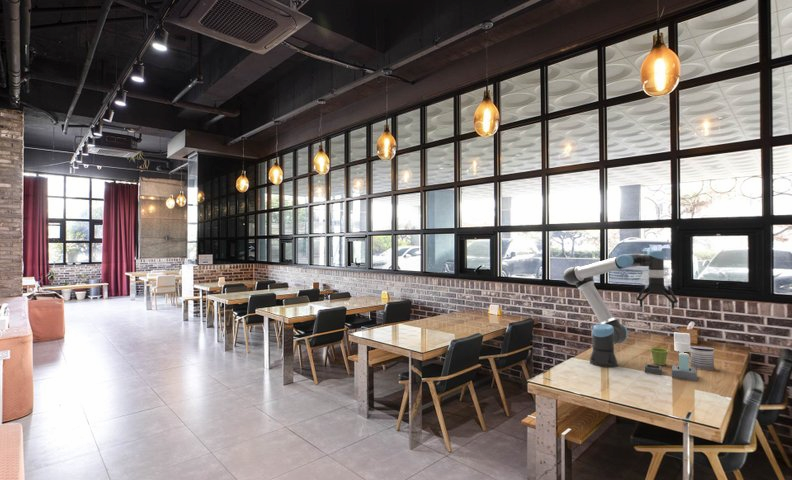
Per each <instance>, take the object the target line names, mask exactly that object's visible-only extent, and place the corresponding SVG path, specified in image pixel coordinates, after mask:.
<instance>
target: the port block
mask: <svg viewBox="0 0 792 480" xmlns="http://www.w3.org/2000/svg"><path fill="white" fill-rule="evenodd" d="M697 369H698V368H694V367H691V366H689V371H686V370H679V365H672V368H671V376H672V377H671V378H674V379H680V380H687V381H693V382H698V373H697Z"/></svg>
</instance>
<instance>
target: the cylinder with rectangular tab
mask: <svg viewBox="0 0 792 480" xmlns="http://www.w3.org/2000/svg"><path fill="white" fill-rule="evenodd" d="M673 343H674V344H673V345H674V346H673V349H674V351H675V352H678V351H679V352H678V353H680V352H682V353H684V352H689V353H691V351H690V348H691V347H690V346H691V333H687V332H676V331H675V332H673Z"/></svg>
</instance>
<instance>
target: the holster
mask: <svg viewBox="0 0 792 480" xmlns="http://www.w3.org/2000/svg"><path fill="white" fill-rule="evenodd" d="M662 366H663V365H657V364H650V363H649V364H647V363H646V364H645V365H644V373H647V374H653V375H659V376H661V375H662V369H663V368H662Z"/></svg>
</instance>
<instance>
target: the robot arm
mask: <svg viewBox="0 0 792 480" xmlns="http://www.w3.org/2000/svg"><path fill="white" fill-rule="evenodd" d="M664 260H665V258H664V251H662V250H648V252H647V253H627V254H626V253H624V254H620V255H618V256H615V257H612V258H608V259H604V260H601V261H597V262H594V263H591V264H587V265H583V266H579V265H578V266H573V267H571V266H570V267H568V268H567V269H565V270H564V272H563V279H564V281H565V282H566V283H567V284H569V285H573V286H576V288H577V290H579V291H581V292H582V294H583V296H584V298H585V299H586V300H587V302H588V304H589V307H591V310H592V312H593V313H594V315H595V317H596V319H597V320H598V322H599V324H594V325H593V326H592V331H591V333H592V337H591V338H592V351H591V355H590V357H589V364H592V365H593V366H597V367H603V368H615V367H617V366H618V359H617V357H616V353H615V346H614V345H617V344H622V343H623V342H625V341H626V340H627V339H628V336H629V332H628V329H627V327H626V326H625V325H624V324H621V323H620V322H619V319H617V318H616V317H615V318H614V316H613V315H612V313H611V312H610V309H609V308H608V306H607V304H606V303H605V302H604V299H603V298H602V296H601V294H600V293H599V291H598V290H597V288H596V286H595V283H596V282H595V280H594V277H595V276H598V275H603V274H607V273H610V272H611V273H612V272H615V271H619V270H623V269H627V268H634V267H644V268H645V267H648V285H646V284H642V286H641V287H642V289H641V290H640V291H639V294H637V297H636V300H637V301H639V306H640V307H641V308H642V309H641V310H642V314H644V313H645V301H644V300H645V299H646V298H647V297H648V296H649V295H650V294H651V293H653V294H662V295H663V296H664V297H666V299H667V300H668V301H669V302H670V303H669V314H670V316H672V315H673V310H674V309H675V304H676V303H678V302H679V300H678V299H677V297H676V295H675V294H674V292H673V290H672V287H671V285H665V278H664V276H665V269H664V266H665V265H664V263H665V262H664ZM647 288H648V289H649V291H647V292H646V293H645V294H644V295H643V296H642V294H643V293H644V291H645V290H646V289H647ZM665 289H666V290H667V291H668V292H669V294H670V295H671V297H672V298H671V297H670V296H669V294H667V292H665ZM641 297H642V298H641Z"/></svg>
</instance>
